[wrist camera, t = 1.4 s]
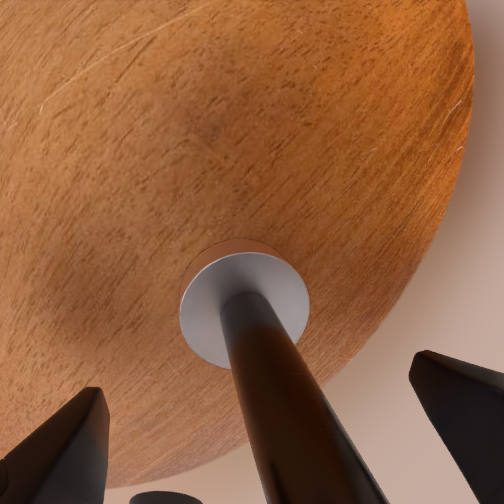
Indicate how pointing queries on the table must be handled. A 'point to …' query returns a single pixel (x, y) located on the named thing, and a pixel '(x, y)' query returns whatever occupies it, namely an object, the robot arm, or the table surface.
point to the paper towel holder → (272, 373)
